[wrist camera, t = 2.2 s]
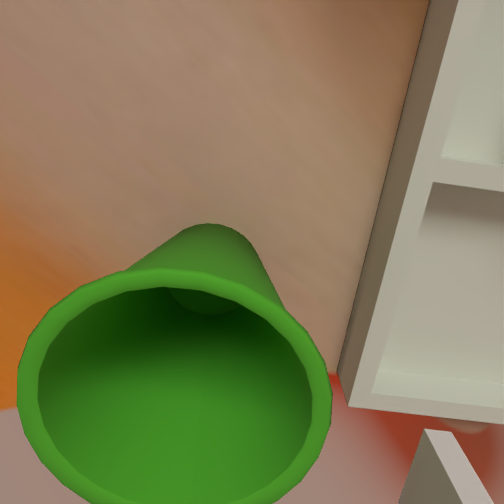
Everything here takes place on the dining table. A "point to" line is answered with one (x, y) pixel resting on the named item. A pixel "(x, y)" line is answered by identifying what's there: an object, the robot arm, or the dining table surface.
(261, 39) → the dining table surface
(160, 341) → the cup
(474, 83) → the tray
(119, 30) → the dining table surface
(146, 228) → the dining table surface
